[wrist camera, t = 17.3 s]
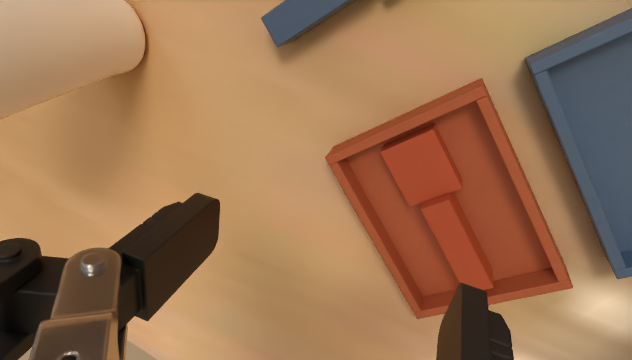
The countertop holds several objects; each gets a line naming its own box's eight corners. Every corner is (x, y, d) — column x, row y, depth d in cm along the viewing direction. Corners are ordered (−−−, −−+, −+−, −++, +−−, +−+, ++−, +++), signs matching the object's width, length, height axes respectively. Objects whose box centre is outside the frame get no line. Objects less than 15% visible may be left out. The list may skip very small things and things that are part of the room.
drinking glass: (78, 61, 31) (-200, 119, 18) (77, -36, 27) (-271, -52, 14) (155, 94, 30) (-83, 180, 17) (162, -3, 26) (-127, 12, 13)
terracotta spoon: (505, 265, 26) (507, 285, 24) (453, 277, 28) (452, 297, 26) (434, 122, 24) (432, 133, 22) (383, 145, 25) (376, 157, 23)
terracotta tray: (333, 146, 27) (324, 157, 25) (481, 77, 22) (482, 85, 20) (419, 301, 30) (416, 319, 28) (566, 268, 25) (573, 288, 23)
